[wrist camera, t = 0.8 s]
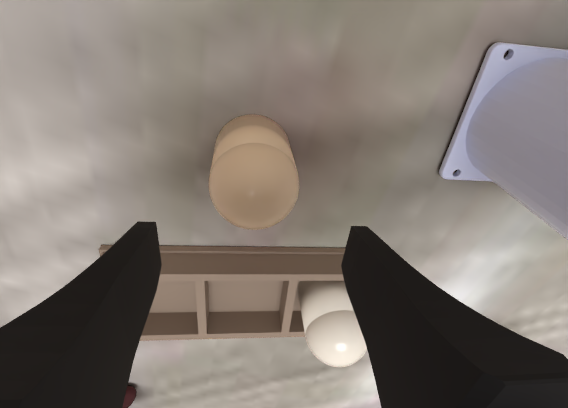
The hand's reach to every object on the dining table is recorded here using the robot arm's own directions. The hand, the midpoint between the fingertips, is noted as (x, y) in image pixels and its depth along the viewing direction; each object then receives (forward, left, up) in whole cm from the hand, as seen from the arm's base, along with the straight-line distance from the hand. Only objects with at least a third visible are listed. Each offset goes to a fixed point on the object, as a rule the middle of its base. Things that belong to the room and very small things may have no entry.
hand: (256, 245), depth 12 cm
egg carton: (0, +11, -8) cm, 14 cm away
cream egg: (-6, +11, -8) cm, 15 cm away
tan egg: (0, 0, -8) cm, 9 cm away
